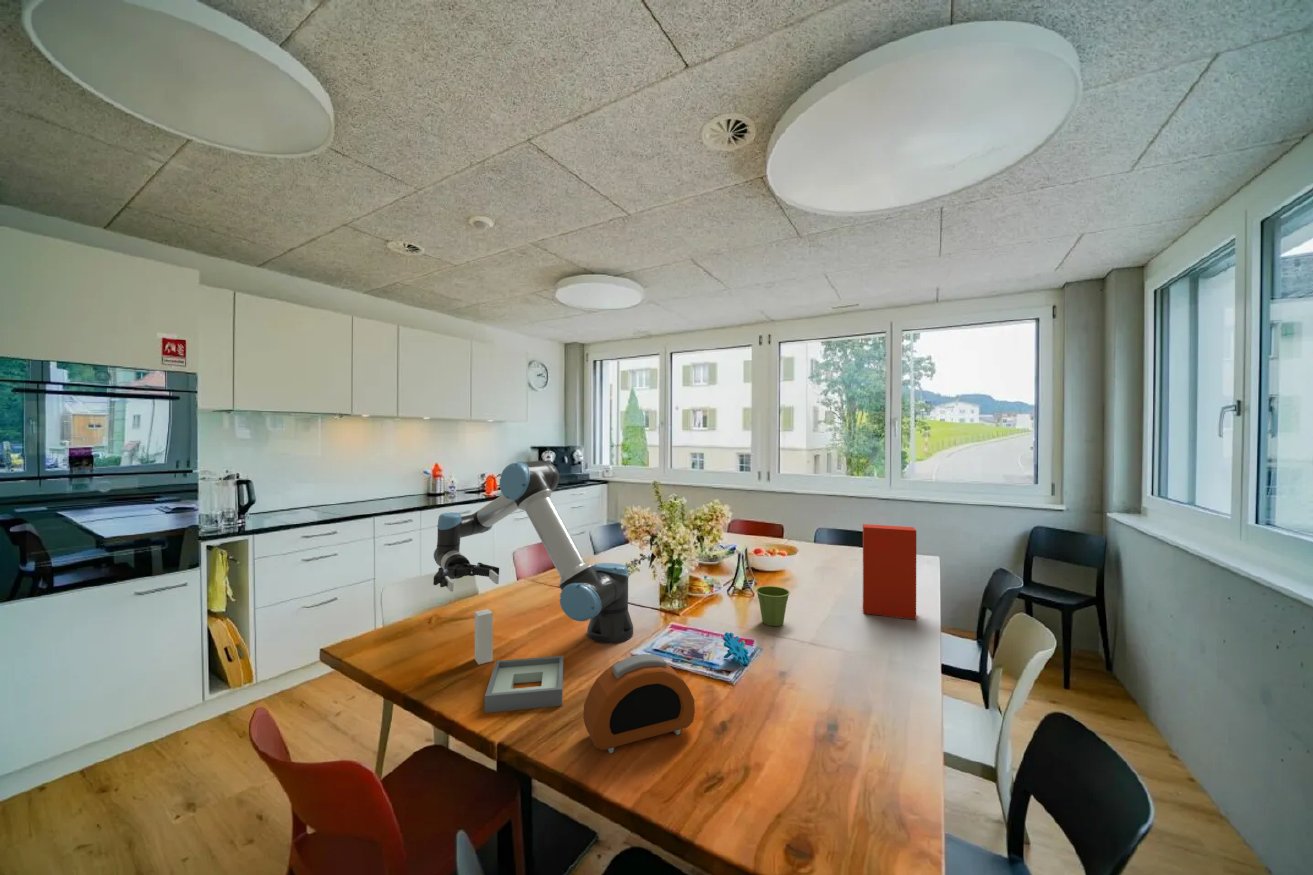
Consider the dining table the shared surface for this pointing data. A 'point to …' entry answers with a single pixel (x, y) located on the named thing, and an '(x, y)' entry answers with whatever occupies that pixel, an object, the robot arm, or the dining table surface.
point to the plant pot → (772, 604)
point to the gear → (735, 648)
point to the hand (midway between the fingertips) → (475, 583)
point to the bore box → (523, 671)
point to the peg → (483, 636)
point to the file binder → (889, 571)
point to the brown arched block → (637, 702)
